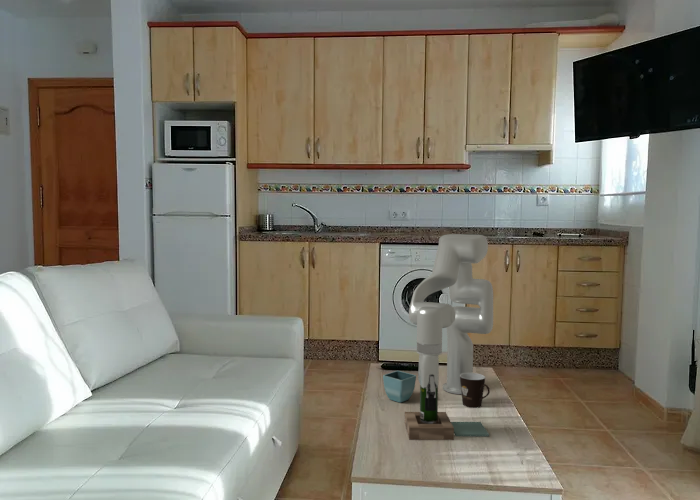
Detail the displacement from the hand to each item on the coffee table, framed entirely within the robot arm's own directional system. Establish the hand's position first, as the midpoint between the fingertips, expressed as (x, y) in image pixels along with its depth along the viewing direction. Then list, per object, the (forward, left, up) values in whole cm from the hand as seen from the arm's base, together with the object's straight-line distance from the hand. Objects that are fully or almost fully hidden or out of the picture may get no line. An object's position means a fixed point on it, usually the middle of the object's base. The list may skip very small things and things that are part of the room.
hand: (428, 406), depth 161 cm
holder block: (0, 0, -8) cm, 8 cm away
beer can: (0, 0, -5) cm, 5 cm away
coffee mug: (-22, +19, -8) cm, 30 cm away
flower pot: (-28, -6, -8) cm, 29 cm away
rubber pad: (-1, +12, -8) cm, 14 cm away
